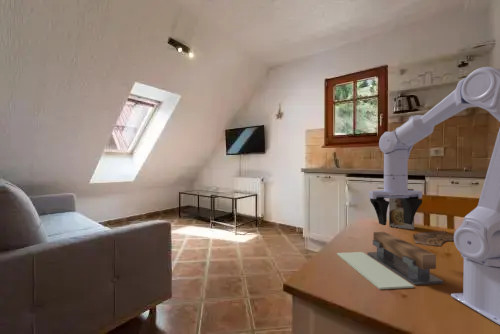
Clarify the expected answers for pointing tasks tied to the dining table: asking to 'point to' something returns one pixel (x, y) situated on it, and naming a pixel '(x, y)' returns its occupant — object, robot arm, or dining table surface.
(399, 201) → the coffee box
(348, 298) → the dining table surface
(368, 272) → the mat
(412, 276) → the rack
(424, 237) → the wooden fragment
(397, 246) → the rail
